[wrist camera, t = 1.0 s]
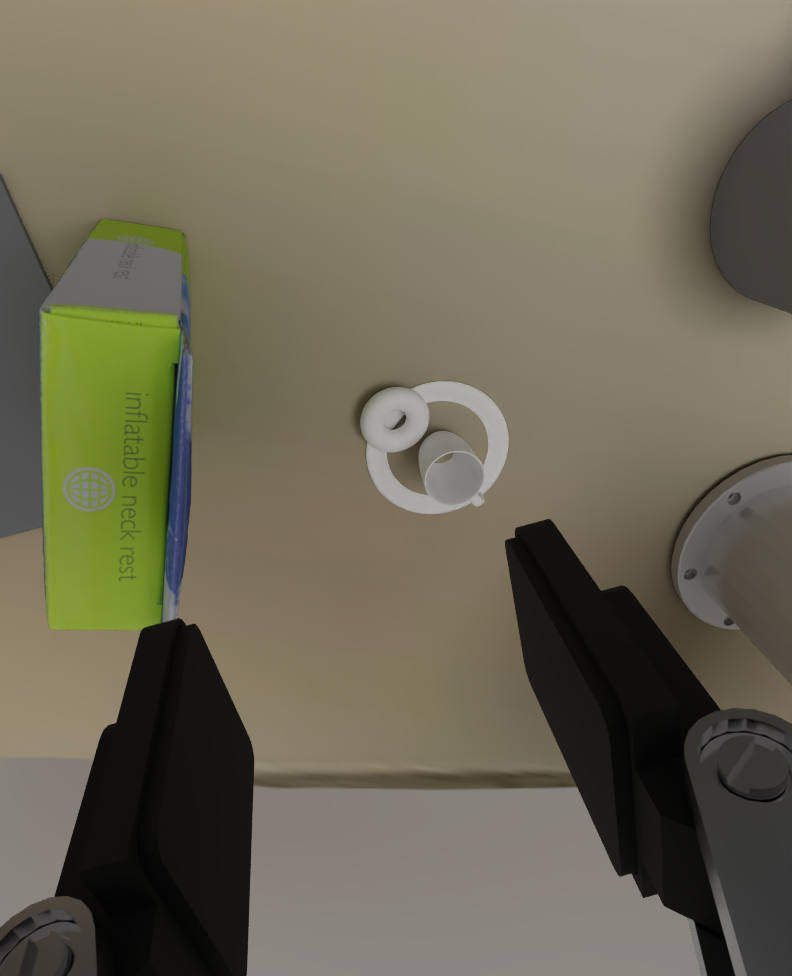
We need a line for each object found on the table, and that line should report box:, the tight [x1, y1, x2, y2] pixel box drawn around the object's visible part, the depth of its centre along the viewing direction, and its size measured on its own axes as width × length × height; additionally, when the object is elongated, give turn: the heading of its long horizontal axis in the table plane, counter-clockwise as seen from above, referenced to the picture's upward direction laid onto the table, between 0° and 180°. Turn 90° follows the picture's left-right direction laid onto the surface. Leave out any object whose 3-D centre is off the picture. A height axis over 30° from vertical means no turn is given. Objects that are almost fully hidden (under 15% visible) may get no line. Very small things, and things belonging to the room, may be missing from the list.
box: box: [38, 219, 193, 630], centre depth 25 cm, size 10×4×17 cm, turn 170°
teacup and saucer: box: [360, 381, 509, 514], centre depth 36 cm, size 9×8×4 cm
